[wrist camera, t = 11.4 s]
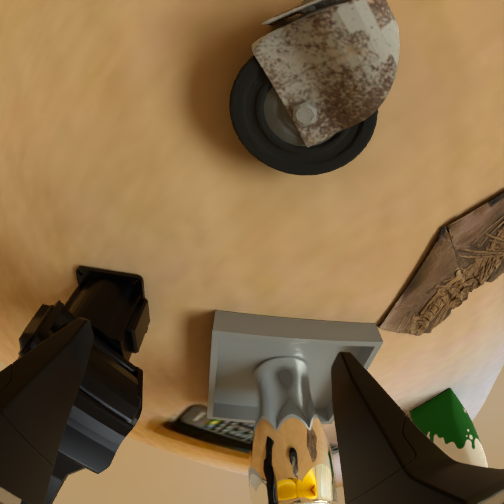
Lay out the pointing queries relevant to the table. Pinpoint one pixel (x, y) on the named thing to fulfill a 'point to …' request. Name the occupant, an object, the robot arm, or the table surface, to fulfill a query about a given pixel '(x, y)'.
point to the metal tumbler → (288, 439)
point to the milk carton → (450, 428)
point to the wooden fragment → (452, 270)
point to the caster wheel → (316, 85)
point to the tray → (279, 345)
